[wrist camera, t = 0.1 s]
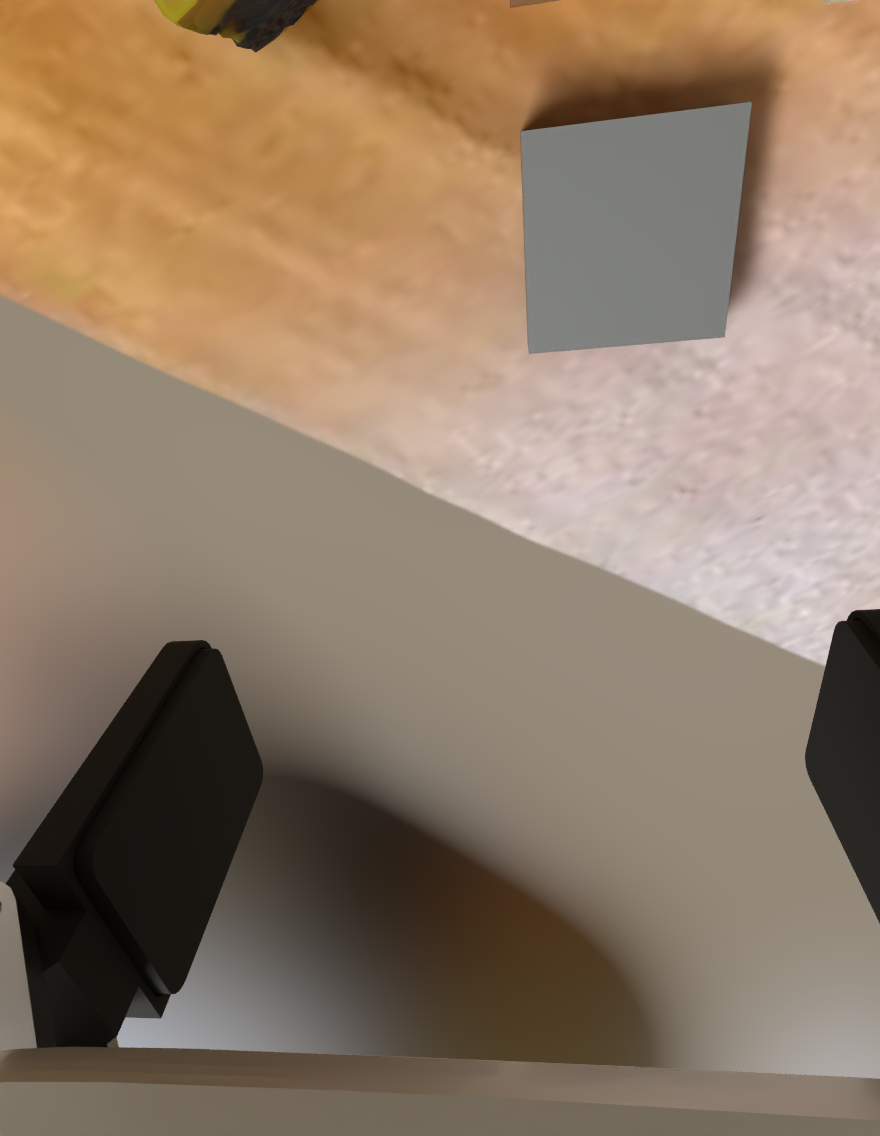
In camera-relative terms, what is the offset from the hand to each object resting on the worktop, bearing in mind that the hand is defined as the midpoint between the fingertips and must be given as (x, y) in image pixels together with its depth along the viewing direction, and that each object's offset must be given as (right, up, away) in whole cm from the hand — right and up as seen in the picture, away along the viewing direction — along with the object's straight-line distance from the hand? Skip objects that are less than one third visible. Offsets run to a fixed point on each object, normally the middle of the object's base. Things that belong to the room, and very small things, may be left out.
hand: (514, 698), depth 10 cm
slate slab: (+8, +19, +24) cm, 32 cm away
